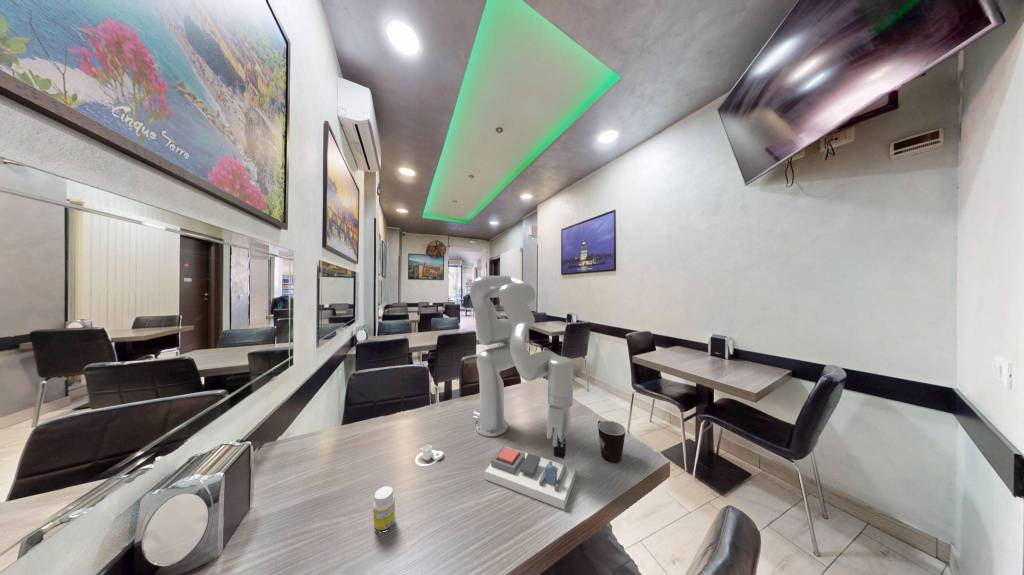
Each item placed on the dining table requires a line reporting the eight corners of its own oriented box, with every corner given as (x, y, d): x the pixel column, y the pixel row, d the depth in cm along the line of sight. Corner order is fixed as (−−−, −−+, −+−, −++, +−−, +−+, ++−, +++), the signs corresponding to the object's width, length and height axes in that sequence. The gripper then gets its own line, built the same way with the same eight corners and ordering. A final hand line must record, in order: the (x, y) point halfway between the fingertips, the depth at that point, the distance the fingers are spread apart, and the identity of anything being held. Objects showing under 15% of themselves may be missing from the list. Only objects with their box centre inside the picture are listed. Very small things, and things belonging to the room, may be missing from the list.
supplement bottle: (378, 517, 70) (377, 485, 69) (398, 515, 70) (397, 483, 69) (370, 535, 65) (369, 501, 64) (391, 533, 65) (390, 499, 65)
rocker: (520, 472, 81) (520, 468, 81) (528, 456, 86) (528, 453, 86) (533, 476, 79) (533, 472, 79) (540, 460, 84) (540, 456, 84)
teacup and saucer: (447, 456, 93) (446, 444, 93) (430, 471, 86) (430, 458, 86) (426, 449, 97) (426, 437, 97) (409, 463, 90) (409, 451, 90)
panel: (485, 479, 82) (484, 465, 82) (505, 453, 94) (505, 441, 94) (564, 509, 72) (564, 493, 71) (575, 476, 83) (576, 462, 83)
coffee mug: (627, 467, 87) (628, 436, 86) (598, 463, 89) (599, 433, 88) (620, 444, 98) (621, 417, 98) (595, 441, 100) (595, 415, 99)
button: (497, 463, 85) (497, 456, 85) (505, 453, 89) (505, 447, 89) (512, 468, 82) (512, 461, 82) (519, 458, 87) (519, 451, 87)
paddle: (545, 481, 78) (545, 465, 77) (546, 478, 79) (546, 462, 79) (556, 486, 76) (556, 469, 76) (558, 482, 77) (558, 466, 77)
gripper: (556, 386, 93) (555, 439, 94) (539, 406, 79) (539, 467, 80) (578, 391, 89) (577, 446, 90) (565, 412, 76) (564, 476, 77)
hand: (559, 456), depth 85 cm, fingers closed
